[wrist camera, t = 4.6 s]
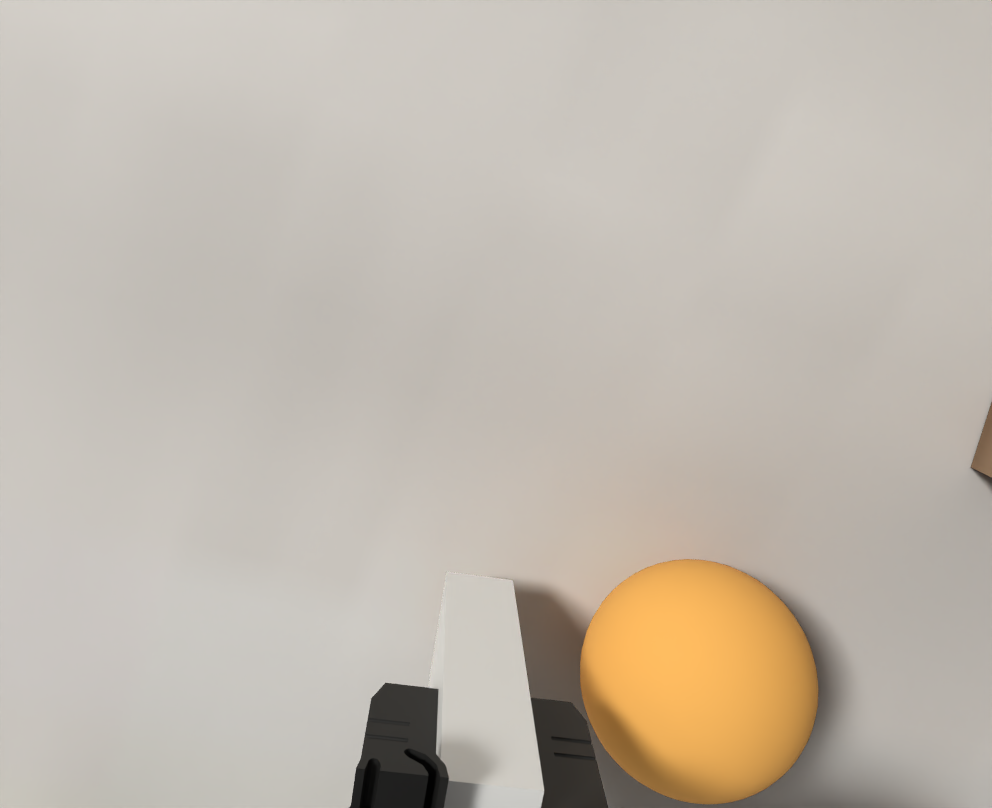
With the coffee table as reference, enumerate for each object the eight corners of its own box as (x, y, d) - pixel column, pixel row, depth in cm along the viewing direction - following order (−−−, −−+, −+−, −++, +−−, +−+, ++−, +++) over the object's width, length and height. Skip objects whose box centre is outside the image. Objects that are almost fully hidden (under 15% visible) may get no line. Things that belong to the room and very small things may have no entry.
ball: (597, 597, 14) (606, 507, 19) (550, 824, 16) (571, 685, 20) (878, 661, 14) (815, 551, 19) (808, 892, 15) (766, 733, 20)
